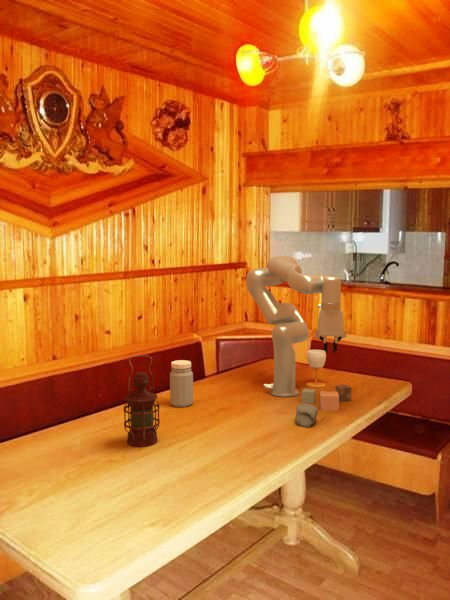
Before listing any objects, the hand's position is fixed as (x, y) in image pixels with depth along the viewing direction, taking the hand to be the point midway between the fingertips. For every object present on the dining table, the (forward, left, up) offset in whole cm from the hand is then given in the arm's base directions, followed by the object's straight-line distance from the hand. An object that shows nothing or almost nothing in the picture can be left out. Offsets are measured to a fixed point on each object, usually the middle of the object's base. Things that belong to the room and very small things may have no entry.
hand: (330, 352), depth 227 cm
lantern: (-67, -44, -23) cm, 83 cm away
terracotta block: (0, 0, -23) cm, 23 cm away
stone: (-10, -19, -24) cm, 32 cm away
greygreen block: (-8, +8, -23) cm, 26 cm away
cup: (-3, +36, -23) cm, 43 cm away
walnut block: (+7, +12, -23) cm, 27 cm away
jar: (-61, 0, -23) cm, 65 cm away
